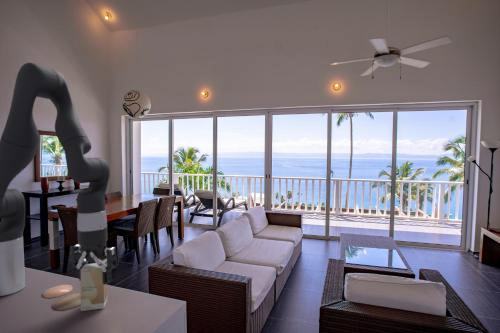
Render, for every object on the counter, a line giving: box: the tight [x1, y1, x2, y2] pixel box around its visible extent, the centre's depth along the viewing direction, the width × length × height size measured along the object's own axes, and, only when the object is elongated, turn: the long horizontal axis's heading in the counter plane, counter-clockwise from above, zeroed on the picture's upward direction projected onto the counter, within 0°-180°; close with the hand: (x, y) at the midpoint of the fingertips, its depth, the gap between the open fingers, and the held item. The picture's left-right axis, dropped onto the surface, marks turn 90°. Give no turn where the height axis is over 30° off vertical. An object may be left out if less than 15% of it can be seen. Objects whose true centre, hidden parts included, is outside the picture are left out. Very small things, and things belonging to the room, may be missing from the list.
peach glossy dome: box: [42, 284, 74, 299], centre depth 94 cm, size 8×8×1 cm
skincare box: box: [80, 262, 108, 312], centre depth 84 cm, size 6×4×12 cm
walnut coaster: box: [52, 292, 81, 311], centre depth 87 cm, size 9×9×1 cm
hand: (95, 281), depth 84 cm, fingers open, 8 cm apart
